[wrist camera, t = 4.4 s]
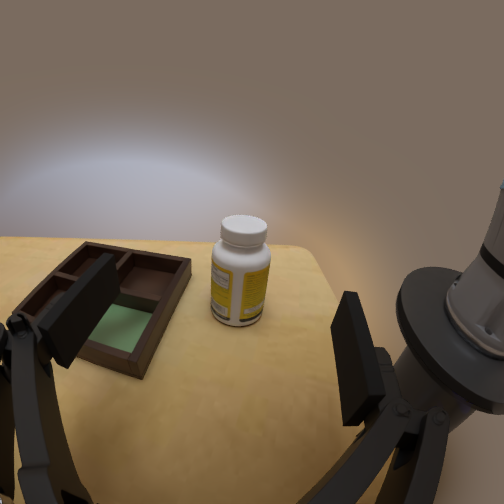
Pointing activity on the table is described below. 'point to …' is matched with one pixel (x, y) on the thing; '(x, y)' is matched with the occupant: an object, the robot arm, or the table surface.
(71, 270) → the compartment tray
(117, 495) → the table surface
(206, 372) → the table surface
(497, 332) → the robot arm
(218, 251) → the supplement bottle
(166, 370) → the table surface
